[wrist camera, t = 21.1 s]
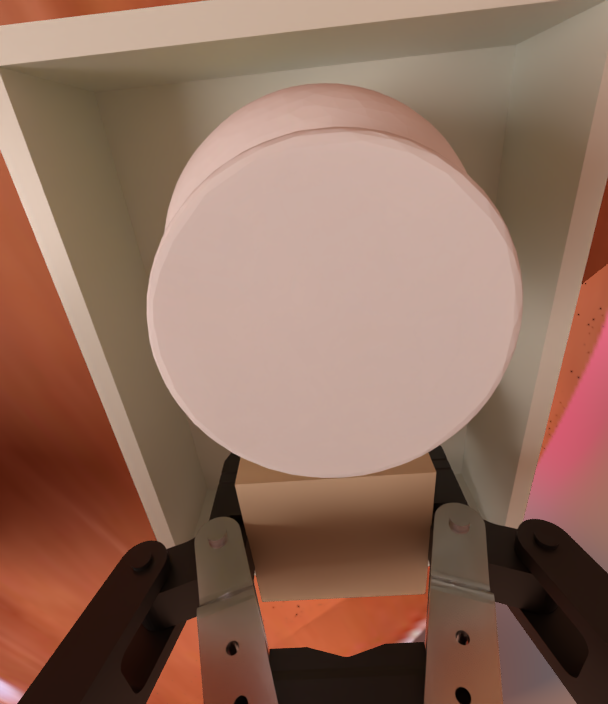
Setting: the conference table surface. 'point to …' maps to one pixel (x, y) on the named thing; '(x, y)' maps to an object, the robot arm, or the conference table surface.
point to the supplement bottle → (331, 285)
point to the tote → (257, 81)
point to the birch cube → (338, 531)
